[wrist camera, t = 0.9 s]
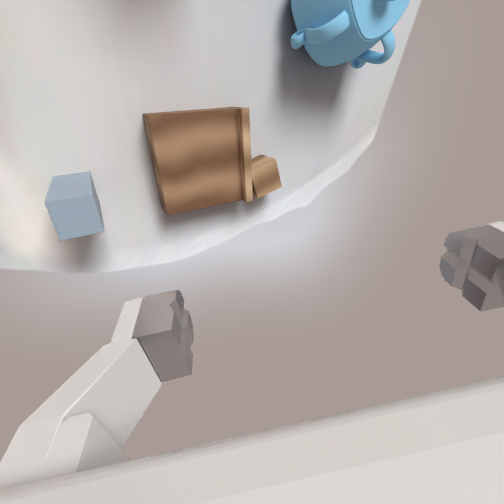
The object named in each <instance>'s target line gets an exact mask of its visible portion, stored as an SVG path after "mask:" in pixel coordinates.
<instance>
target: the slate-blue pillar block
mask: <svg viewBox="0 0 504 504" xmlns="http://www.w3.org/2000/svg"><path fill="white" fill-rule="evenodd" d="M45 205H46V207H47V210H48V212H49V214H50V217H51V219H52V222H53V224H54V227H55V229H56V231H57V234H58V236H59V239H60V241H63V240H68V239H72V238H77V237H82V236H86V235H91V234H95V233H100V232H104V226H103V220H102V214H101V209H100V203H99V199H98V196H97V193H96V190H95V187H94V184H93V180H92V177H91V174H90V172H83V173H76V174H69V175H62V176H54V177H53V178H52V181H51V184H50V187H49V190H48V193H47V196H46V199H45Z"/></svg>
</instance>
